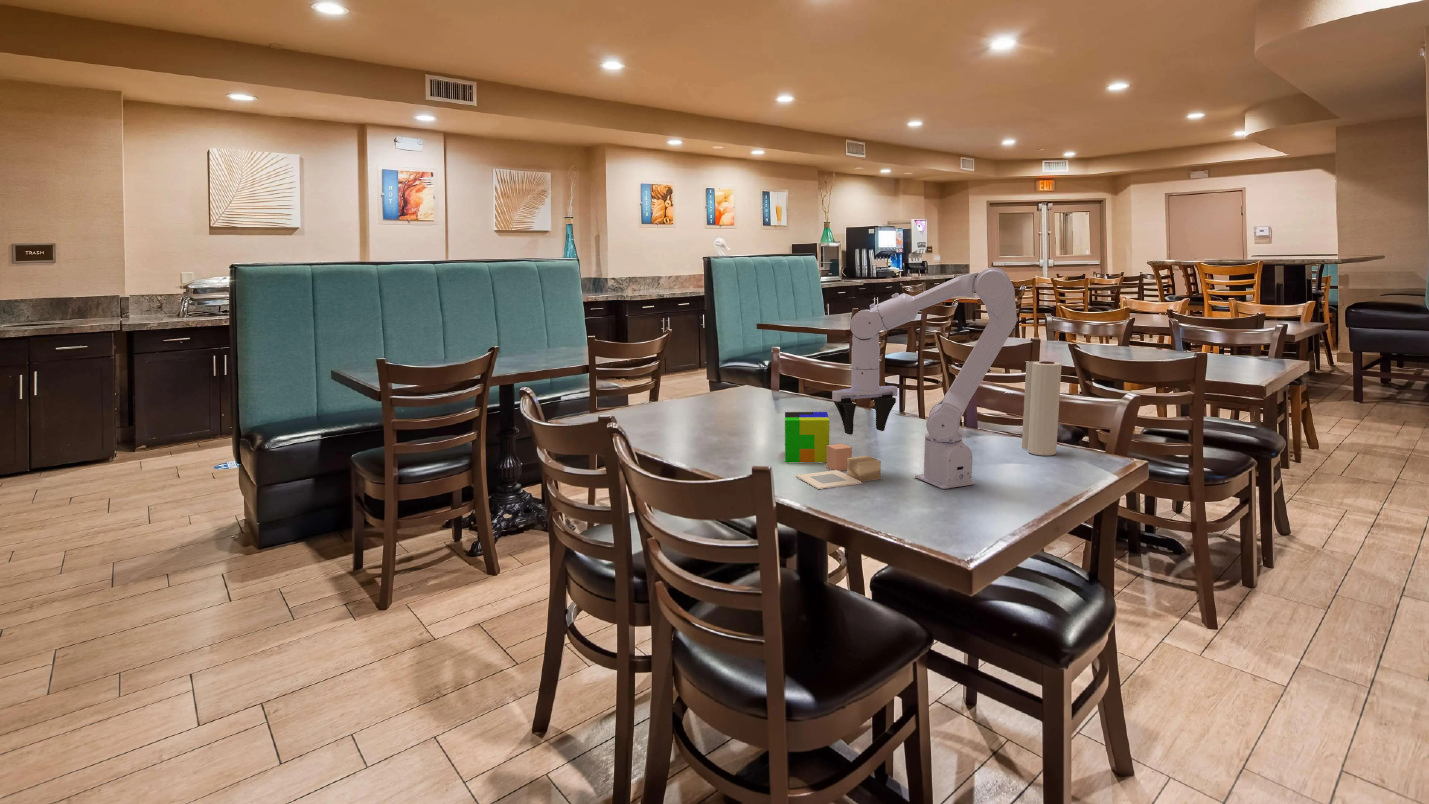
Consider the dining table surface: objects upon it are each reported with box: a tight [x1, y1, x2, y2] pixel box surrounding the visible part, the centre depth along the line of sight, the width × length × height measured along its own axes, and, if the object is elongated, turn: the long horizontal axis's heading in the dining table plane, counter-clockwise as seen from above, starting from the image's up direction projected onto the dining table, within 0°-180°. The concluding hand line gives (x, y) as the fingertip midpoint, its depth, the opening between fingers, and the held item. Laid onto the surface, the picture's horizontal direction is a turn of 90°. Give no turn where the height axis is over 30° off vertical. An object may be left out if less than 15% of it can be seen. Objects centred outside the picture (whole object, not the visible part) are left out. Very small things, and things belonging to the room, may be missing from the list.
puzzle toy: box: [784, 411, 830, 463], centre depth 171 cm, size 10×10×10 cm
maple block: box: [846, 455, 882, 482], centre depth 154 cm, size 5×5×4 cm
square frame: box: [795, 470, 863, 490], centre depth 153 cm, size 10×10×1 cm
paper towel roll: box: [1021, 360, 1063, 456], centre depth 169 cm, size 7×6×21 cm
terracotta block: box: [826, 443, 853, 471], centre depth 162 cm, size 4×4×5 cm
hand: (864, 431), depth 154 cm, fingers open, 7 cm apart
